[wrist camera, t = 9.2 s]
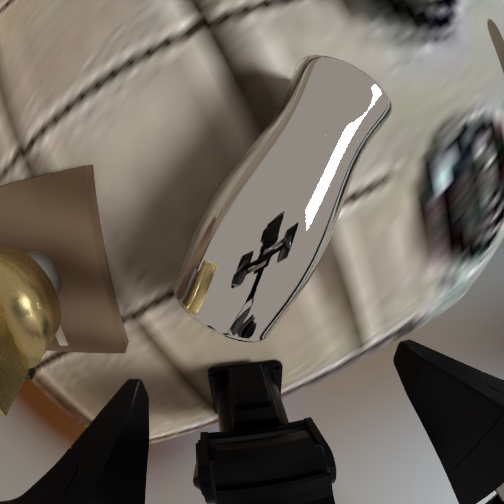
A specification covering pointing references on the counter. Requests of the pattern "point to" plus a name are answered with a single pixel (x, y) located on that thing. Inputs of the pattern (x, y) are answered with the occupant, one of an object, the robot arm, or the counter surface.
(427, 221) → the counter surface
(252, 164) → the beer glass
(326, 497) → the robot arm
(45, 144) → the counter surface
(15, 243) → the base
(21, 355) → the cap
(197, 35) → the counter surface
